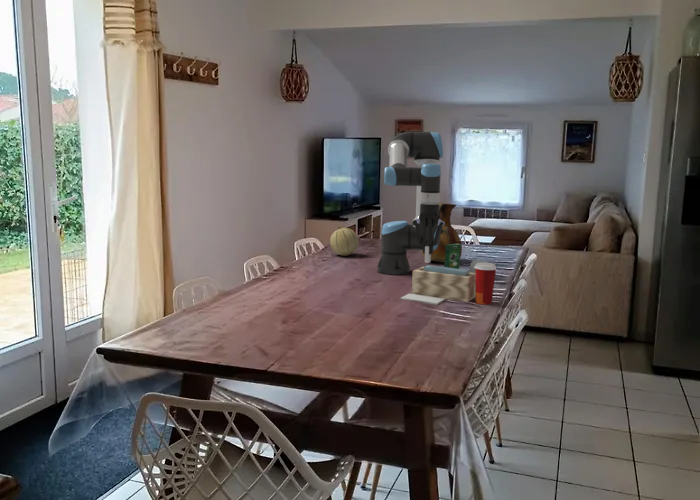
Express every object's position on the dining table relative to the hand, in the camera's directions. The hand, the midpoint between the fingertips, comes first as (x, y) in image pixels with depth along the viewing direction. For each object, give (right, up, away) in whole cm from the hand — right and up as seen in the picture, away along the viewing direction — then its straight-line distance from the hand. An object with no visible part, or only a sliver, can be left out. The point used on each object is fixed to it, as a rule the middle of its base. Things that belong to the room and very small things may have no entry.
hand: (427, 262), depth 259 cm
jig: (+7, -13, -1) cm, 15 cm away
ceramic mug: (+29, -7, +35) cm, 46 cm away
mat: (-3, -14, -9) cm, 17 cm away
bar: (+7, -6, -3) cm, 10 cm away
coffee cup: (+20, -15, -11) cm, 28 cm away
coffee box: (+17, -5, +44) cm, 47 cm away
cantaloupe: (-34, +2, +80) cm, 87 cm away
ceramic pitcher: (+15, -1, +67) cm, 69 cm away
